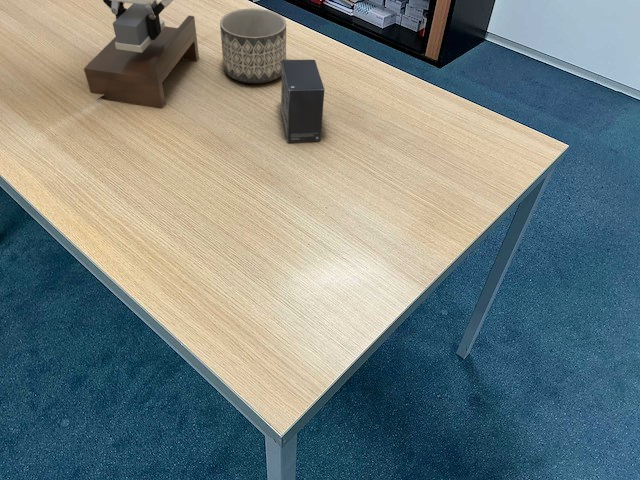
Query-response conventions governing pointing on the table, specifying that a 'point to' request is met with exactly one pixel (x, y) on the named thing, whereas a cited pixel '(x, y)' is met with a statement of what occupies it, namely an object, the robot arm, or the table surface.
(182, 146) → the table surface
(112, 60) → the shelf
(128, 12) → the grey block on plinth
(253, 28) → the planter
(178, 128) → the table surface
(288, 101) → the small box
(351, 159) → the table surface
